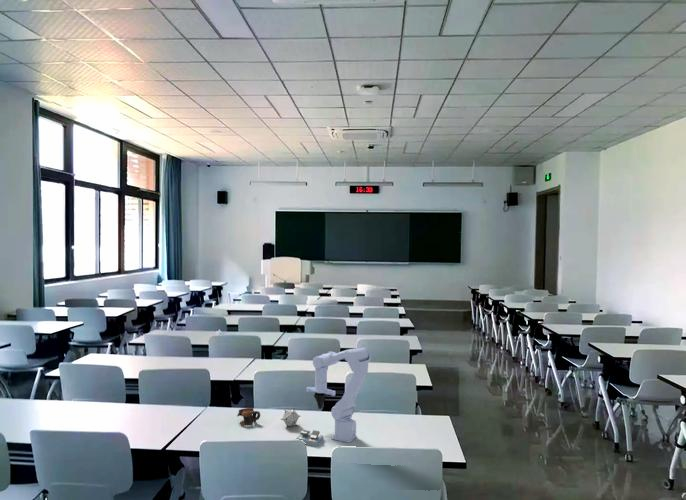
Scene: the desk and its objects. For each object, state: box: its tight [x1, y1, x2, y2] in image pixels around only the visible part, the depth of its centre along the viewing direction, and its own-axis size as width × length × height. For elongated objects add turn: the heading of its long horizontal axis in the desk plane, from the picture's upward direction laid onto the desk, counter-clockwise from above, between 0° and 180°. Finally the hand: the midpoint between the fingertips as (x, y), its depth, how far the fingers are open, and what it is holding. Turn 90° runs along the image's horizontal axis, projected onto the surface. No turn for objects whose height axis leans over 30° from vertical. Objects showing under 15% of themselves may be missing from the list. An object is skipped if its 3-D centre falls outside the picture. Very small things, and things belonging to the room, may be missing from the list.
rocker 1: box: [299, 429, 311, 435], centre depth 217 cm, size 3×4×1 cm
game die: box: [280, 407, 301, 429], centre depth 233 cm, size 9×8×10 cm
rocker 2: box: [310, 429, 320, 440], centre depth 215 cm, size 3×4×1 cm
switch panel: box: [295, 432, 324, 447], centre depth 216 cm, size 10×7×3 cm
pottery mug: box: [236, 407, 261, 427], centre depth 236 cm, size 12×10×8 cm
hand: (320, 408), depth 231 cm, fingers closed
